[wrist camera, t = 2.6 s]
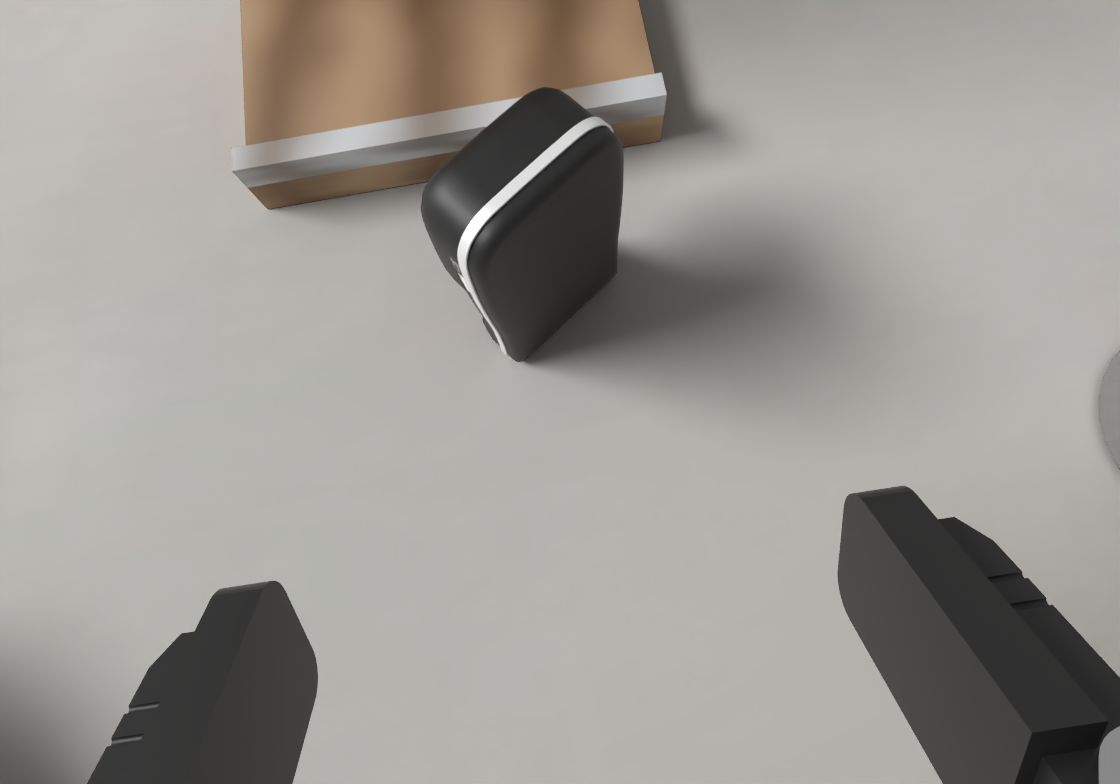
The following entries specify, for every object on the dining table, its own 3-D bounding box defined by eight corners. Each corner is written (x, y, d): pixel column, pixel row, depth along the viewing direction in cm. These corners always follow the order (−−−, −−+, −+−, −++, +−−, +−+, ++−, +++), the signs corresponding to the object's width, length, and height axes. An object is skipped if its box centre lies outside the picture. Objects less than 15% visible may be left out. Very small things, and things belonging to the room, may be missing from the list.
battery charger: (567, 220, 33) (548, 45, 22) (623, 270, 32) (632, 114, 21) (461, 316, 32) (386, 184, 21) (516, 371, 31) (468, 263, 20)
